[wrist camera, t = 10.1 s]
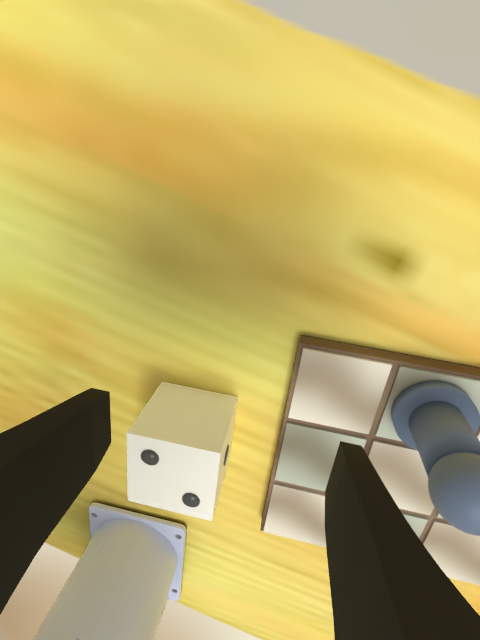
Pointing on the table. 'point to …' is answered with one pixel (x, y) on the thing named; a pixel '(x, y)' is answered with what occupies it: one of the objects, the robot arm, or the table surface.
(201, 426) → the die
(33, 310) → the table surface
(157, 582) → the robot arm
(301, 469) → the board
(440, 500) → the pawn
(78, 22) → the table surface
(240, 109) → the table surface
